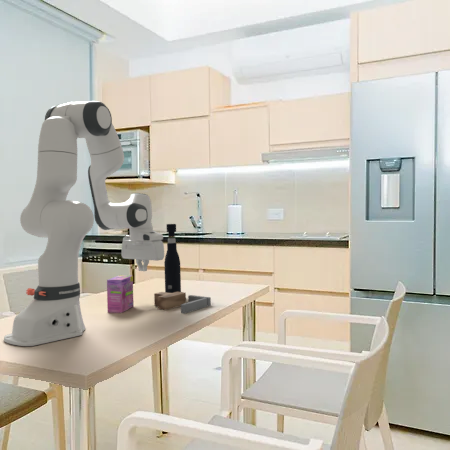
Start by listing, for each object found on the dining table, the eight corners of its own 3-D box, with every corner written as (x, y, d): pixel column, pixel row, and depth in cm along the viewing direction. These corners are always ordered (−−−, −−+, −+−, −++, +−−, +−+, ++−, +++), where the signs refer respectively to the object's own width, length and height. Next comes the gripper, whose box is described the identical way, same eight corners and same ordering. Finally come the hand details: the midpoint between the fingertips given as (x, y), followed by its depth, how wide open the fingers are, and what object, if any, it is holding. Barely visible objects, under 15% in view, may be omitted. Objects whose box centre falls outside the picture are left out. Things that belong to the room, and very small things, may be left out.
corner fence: (184, 313, 154) (184, 304, 154) (164, 310, 160) (163, 302, 160) (210, 305, 167) (210, 297, 167) (190, 302, 172) (190, 295, 172)
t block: (147, 307, 166) (147, 295, 166) (168, 301, 175) (167, 290, 175) (165, 310, 161) (165, 297, 161) (185, 304, 170) (185, 292, 170)
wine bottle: (179, 295, 187) (177, 223, 186) (182, 298, 181) (180, 223, 180) (164, 296, 185) (161, 224, 184) (167, 299, 179) (164, 224, 178)
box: (122, 313, 158) (121, 279, 157) (107, 312, 159) (106, 279, 158) (134, 306, 168) (133, 275, 167) (119, 306, 169) (118, 275, 168)
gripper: (116, 235, 178) (118, 270, 178) (154, 236, 166) (156, 273, 167) (128, 234, 183) (130, 268, 184) (166, 235, 171) (167, 271, 172)
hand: (142, 270), depth 175 cm, fingers closed
